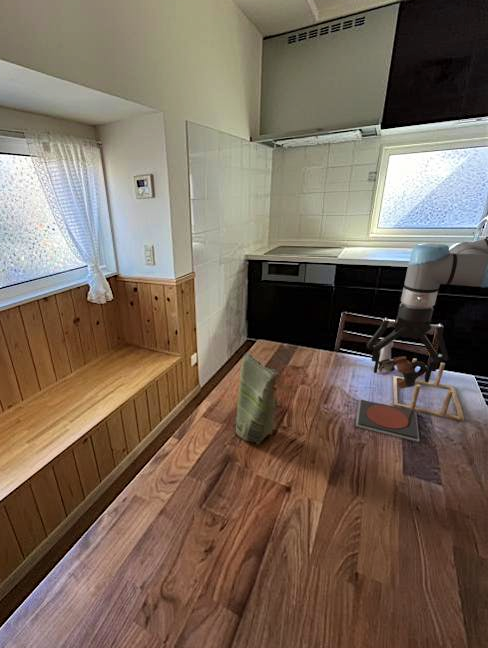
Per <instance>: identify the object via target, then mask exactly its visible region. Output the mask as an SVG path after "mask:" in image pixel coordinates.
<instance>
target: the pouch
mask: <svg viewBox="0 0 488 648" xmlns="http://www.w3.org/2000/svg"><path fill="white" fill-rule="evenodd" d="M261 362H262V360H261V359H259V360H257V359H256V358H255V356H253V355H251V354H250V353H247V352H244V354H243V356H242V361H241V366H240V371H239V388H238V396H237V397H238V398H237V406H236V407H237V408H236V420H235V432H236V435H237V436H238V437H239V438H240V439H241V440H243V441H245V442H252V443H256V444H257V445H260V444H261V442H263V440H264V439H265V438H266V437H267V436H269V435H273V431H274V422H275V413H274V411H275V410H274V409H275V408H276V407H277V405H278V397H276V396H275V395H274V392H275V391H276V390H277V388H276V387H275V382H276V381H277V379H276V377H277V376H278V374H279V373H278V371H277V370H276V369H273V368H269V367H268V365H263V364H261Z"/></svg>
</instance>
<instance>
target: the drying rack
mask: <svg viewBox="0 0 488 648" xmlns="http://www.w3.org/2000/svg"><path fill="white" fill-rule="evenodd" d="M417 361H418V359H417V358H415V357H413V358H412V360H411V362H417ZM445 366H446V363H445V362H440V364H439V368H438V372H437V375H436V379H435V382H432V381H431V382H430V381H429V382H425V380H420V379H416V380H415V387H414V391H413V394H412V397H411V402H410V405H407V404H403V403H398V402H399V401H398V400H399V399H398V384H397V381H400V380H404V376H397V375H393V376H392V380H393V381H392V382H393V383H392V385H393V386H392V387H393V388H392V389H393V407H398V408H403V409H407V410H412V411H415V412H419V413H424V414H428V415H432V416H437V417H442V418H447V419H451V420H457V421H462V422H464V421H465V417H464V413H463V410H462V407H461V404H460V400H459V396H458V394H457V390H456V387H455V386H453V385H447V384H442V383H441V379H442V376H443V372H444V369H445ZM421 385H424V386H430V387H435V388H440V389H441V388H442V389H447V393H446V396H445V399H444V402H443V406H442V408H441V411H436V410H431V409H427V408H422V407H416V404H417V400H418V397H419V393H420V390H421ZM451 399H453V402H454V406H455V410H456V413H457V415H455V414H451V413H447V412H448V409H449V407H450V403H451Z"/></svg>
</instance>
